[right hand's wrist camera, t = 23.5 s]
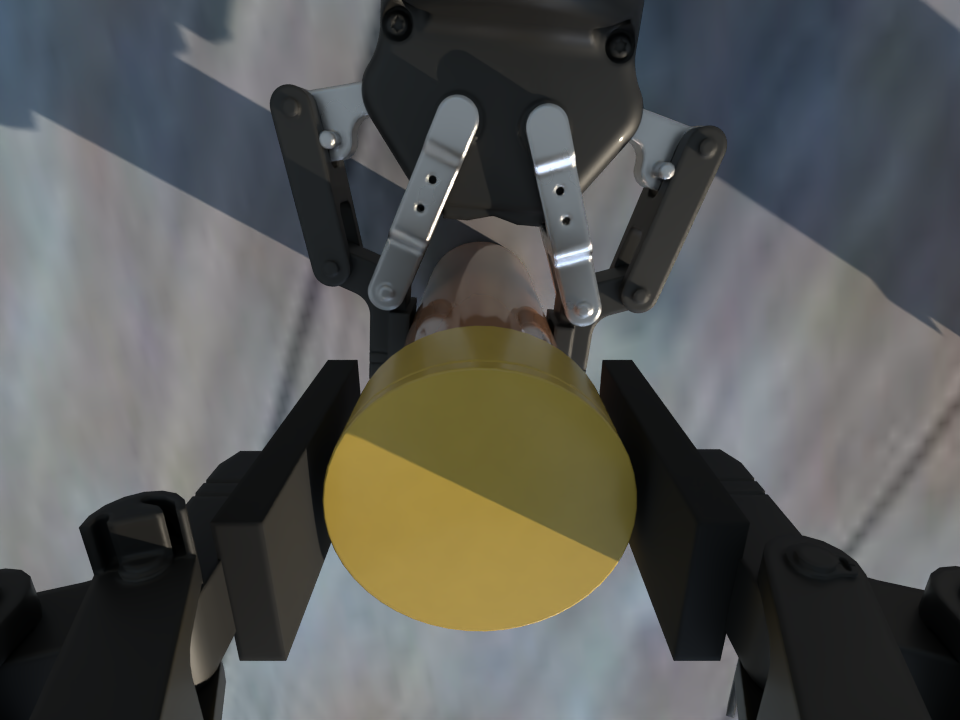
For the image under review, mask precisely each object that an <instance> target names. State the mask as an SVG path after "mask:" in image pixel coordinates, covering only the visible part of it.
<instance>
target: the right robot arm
mask: <svg viewBox="0 0 960 720" xmlns="http://www.w3.org/2000/svg"><path fill="white" fill-rule="evenodd" d="M599 396H600V398H601V400H602V402H603V404H604V406H605V408H606V410H607V412H608V414H609V416H610V418H611V420H612V422H613V424H614V426H615V428H616V430H617V433H618V435H619V437H620V439H621V441H622V443H623V445H624V447H625V449H626V451H627V453H628V455H629V458H630V461H631V464H632V467H633V470H634V474H635V480H636V486H637V511H636V518H635V524H634V528H633V531H632V534H631V537H630V540H629V544H630V547H631V549H632V552H633V555H634V557H635V560H636V563H637V565H638V568H639V570H640V573H641V576H642V578H643V581H644V584H645V586H646V589H647V592H648V594H649V597H650V599H651V602H652V605H653V607H654V610H655V613H656V615H657V618H658V620H659V623H660V626H661V628H662V631H663V634H664V636H665V639H666V641H667V644H668V647H669V649H670V652H671V655H672V657H673V660H674V661H720V660H721V655H722V650H723V646H724V641H725V637H726V634H727V636H728V638H729V640H730V642H731V643H732V645H733V647H734V649H735V651H736V653H737V655H738V657H739V658H738V663H737V667H736V671H735V676H734V680H733V684H732V688H731V693H730V697H729V701H728V707H727V713H726V716H730V717H733V718H734V715H735V711H736V707H737V710H738V719H739V720H960V567H958V566H951V567H940V568H938V569H937V570H935V571H934V572H933V573H931V574H930V577H929V580H928V582H927V585H926V588H925V590H921V589H916V588H911V587H907V586H902V585H897V584H893V583H888V582H883V581H879V580H875V579H871V578H868V577H867V576H866V574H865V573H864V571H863V570H862V568H861V567H860V566H859V564H858V563H857V562H856V561H855V560H854V559H852V558H851V557H850V556H848V555H847V554H846V553H844V552H843V551H842V550H840V549H838V548H836V547H834V546H832V545H830V544H828V543H826V542H824V541H821V540H817V539H814V538H810V537H807V536H802V535H801V534H800V532H799V531H798V530H797V529H796V528H795V526H794V525H793V524H792V523H791V522H790V520H789V519H788V518H787V517H786V516H785V515H784V513H783V512H782V511H781V510H780V509H779V507H778V506H777V505H776V504H775V503H774V501H773V500H772V499H771V498H770V497H769V495H768V494H765V491H764V489H763V488H762V487H761V486H760V485H759V483H758V482H757V481H754V478H753V476H752V475H751V474H750V473H749V472H748V470H747V469H746V468H745V467H744V466H743V464H742V463H741V462H739V461H738V460H736V459H734V458H733V457H731V456H730V455H728V454H727V453H725V452H723V451H722V450H720V449H696V447H695V446H694V445H693V443H692V442H691V441H690V439H689V438H688V436H687V435H686V434H685V432H684V431H683V430H682V428H681V427H680V425H679V424H678V423H677V421H676V420H675V419H674V417H673V416H672V414H671V413H670V412H669V410H668V409H667V408H666V406H665V405H664V403H663V402H662V401H661V399H660V398H659V397H658V395H657V394H656V392H655V391H654V390H653V388H652V387H651V386H650V384H649V383H648V381H647V380H646V379H645V377H644V376H643V375H642V373H641V372H640V370H639V369H638V368H637V366H636V365H635V364H634V362H633V361H632V360H603V361H602V372H601V384H600V395H599ZM359 397H360V383H359V372H358V360H328V361H327V362H326V364H325V365H324V366H323V368H322V369H321V370H320V372H319V373H318V375H317V376H316V377H315V379H314V380H313V381H312V383H311V384H310V386H309V387H308V388H307V390H306V391H305V392H304V394H303V395H302V397H301V398H300V399H299V401H298V402H297V403H296V405H295V406H294V408H293V409H292V410H291V412H290V413H289V414H288V416H287V417H286V419H285V420H284V421H283V423H282V424H281V425H280V427H279V428H278V430H277V431H276V432H275V434H274V435H273V437H272V438H271V439H270V441H269V442H268V443H267V445H266V446H265V448H264V449H263V450H262V451H240V452H238V453H237V454H235V455H233V456H232V457H230V458H229V459H227V460H226V461H224V462H222V463H221V464H219V465H218V467H217V468H216V469H215V470H214V471H213V473H212V474H211V475H210V476H209V477H208V479H207V480H206V483H203V485H202V486H201V487H200V488H199V489H198V491H197V492H196V495H195V496H193V497H192V498H191V499H190V500H189V501H188V503H187V504H185V500H184V499H183V498H182V497H181V496H179V495H178V494H177V493H172V492H167V491H151V492H142V493H138V494H134V495H130V496H126V497H123V498H121V499H119V500H116V501H114V502H112V503H109V504H107V505H105V506H103V507H102V508H100V509H99V510H97V511H96V512H94V513H93V514H91V515H90V516H89V517H88V518H87V519H86V520H85V521H84V522H83V523H82V525H81V526H80V527H79V529H80V533H81V536H82V539H83V542H84V545H85V548H86V551H87V554H88V557H89V560H90V564H91V567H92V570H93V573H94V577H93V579H92V580H90V581H87V582H83V583H79V584H74V585H69V586H65V587H60V588H55V589H51V590H46V591H42V592H37V593H36V590H35V588H34V585H33V582H32V580H31V577H30V576H29V575H28V574H26V573H25V572H24V571H22V570H16V569H0V720H222V711H223V703H224V694H225V685H226V679H225V672H224V667H223V663H222V658H223V656H224V654H225V652H226V650H227V648H228V646H229V644H230V642H231V640H232V638H233V636H234V637H235V641H236V646H237V650H238V655H239V660H240V661H286V660H287V657H288V655H289V652H290V649H291V647H292V644H293V641H294V639H295V636H296V634H297V631H298V628H299V626H300V623H301V620H302V618H303V615H304V613H305V610H306V607H307V605H308V602H309V599H310V597H311V594H312V592H313V589H314V586H315V584H316V581H317V578H318V576H319V573H320V570H321V568H322V565H323V563H324V560H325V557H326V555H327V552H328V549H329V547H330V544H331V540H330V538H329V535H328V532H327V528H326V524H325V520H324V513H323V502H322V498H323V483H324V478H325V474H326V470H327V465H328V463H329V460H330V458H331V455H332V453H333V450H334V448H335V446H336V444H337V442H338V440H339V438H340V436H341V434H342V432H343V430H344V428H345V426H346V423H347V421H348V419H349V417H350V415H351V413H352V411H353V409H354V407H355V405H356V403H357V401H358V399H359Z"/></svg>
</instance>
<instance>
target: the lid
mask: <svg viewBox="0 0 960 720" xmlns="http://www.w3.org/2000/svg"><path fill="white" fill-rule="evenodd" d="M322 502H323V513H324V520H325V524H326V528H327V532H328V535H329V538H330V540H331V543H332V545H333V547H334V550H335V552H336V553H337V555H338V557H339V559H340V560H341V562H342V564H343V565H344V567H345V568H346V569H347V570H348V572H349V573H350V574H351V575H352V577H353V578H354V579H355V580H356V581H357V582H358V583H359V584H360V585H361V586H362V587H363V588H364V589H365V590H366V591H367V592H369V593H370V594H371V595H372V596H374V597H375V598H376V599H378V600H379V601H380V602H382V603H383V604H385V605H387V606H388V607H390V608H392V609H394V610H395V611H397V612H399V613H401V614H404V615H406V616H408V617H410V618H412V619H415V620H418V621H421V622H424V623H427V624H430V625H434V626H439V627H443V628H448V629H456V630H464V631H495V630H505V629H511V628H516V627H522V626H526V625H529V624H533V623H536V622H540V621H542V620H545V619H547V618H549V617H552V616H554V615H557V614H559V613H561V612H562V611H564V610H566V609H568V608H570V607H572V606H573V605H575V604H576V603H578V602H579V601H581V600H582V599H584V598H585V597H586V596H588V595H589V594H590V593H591V592H592V591H593V590H595V589H596V588H597V587H598V586H599V585H600V584H601V583H602V582H603V581H604V580H605V579H606V577H607V576H608V575H609V574H610V573H611V572H612V570H613V569H614V568H615V566H616V565H617V563H618V562H619V560H620V559H621V557H622V555H623V553H624V551H625V549H626V547H627V545H628V543H629V540H630V537H631V534H632V531H633V528H634V524H635V518H636V511H637V486H636V480H635V474H634V470H633V467H632V464H631V461H630V458H629V455H628V453H627V451H626V449H625V447H624V445H623V443H622V441H621V439H620V437H619V435H618V433H617V430H616V428H615V426H614V424H613V422H612V420H611V418H610V416H609V414H608V412H607V410H606V408H605V406H604V404H603V402H602V400H601V398H600V396H599V394H598V392H597V390H596V388H595V386H594V385H593V383H592V382H591V380H590V379H589V378H588V376H587V375H586V373H585V372H584V371H583V370H582V369H581V368H580V367H579V366H578V365H577V364H576V363H575V362H574V361H573V360H572V359H571V358H570V357H568V356H567V355H566V354H565V353H563V352H562V351H561V350H559V349H558V348H556V347H554V346H553V345H551V344H549V343H548V342H546V341H544V340H541V339H539V338H537V337H534V336H532V335H530V334H527V333H523V332H520V331H516V330H513V329H508V328H501V327H495V326H467V327H457V328H452V329H448V330H444V331H439V332H436V333H433V334H431V335H428V336H425V337H423V338H420V339H418V340H416V341H415V342H413V343H411V344H409V345H407V346H405V347H404V348H402V349H401V350H400V351H398V352H397V353H395V354H394V355H392V356H391V357H390V358H389V359H388V360H387V361H386V362H385V363H384V364H383V365H382V366H380V367H379V369H378V370H377V371H376V372H375V374H374V375H373V376H372V377H371V379H370V380H369V381H368V383H367V385H366V386H365V388H364V390H363V391H362V393H361V395H360V397H359V399H358V401H357V403H356V405H355V407H354V409H353V411H352V413H351V415H350V417H349V419H348V421H347V423H346V426H345V428H344V430H343V432H342V434H341V436H340V438H339V440H338V442H337V444H336V446H335V448H334V450H333V453H332V455H331V458H330V460H329V463H328V465H327V470H326V474H325V478H324V483H323V498H322Z"/></svg>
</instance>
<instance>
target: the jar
mask: <svg viewBox="0 0 960 720" xmlns="http://www.w3.org/2000/svg"><path fill="white" fill-rule="evenodd" d="M467 326H495V327H501V328H508V329H513V330H516V331H520V332H523V333H527V334H530V335H532V336H534V337H537V338H539V339H541V340H544V341H546V342H548V343H549V344H551V345H553V346H554V347H556V348H558V347H557V345H556V342H555V340H554V337H553V334H552V332H551V329H550V327H549V324H548V322H547V319H546V317H545V314H544V312H543V309H542V307H541V304H540V301H539V299H538V296H537V294H536V291H535V289H534V286H533V284H532V281H531V279H530V276H529V274H528V271H527V269H526V267H525V266H524V264H523V263H522V262H521V260H520V259H519V258H518V257H517V256H516V255H515V254H514V253H512V252H511V251H509V250H508V249H506V248H504V247H502V246H500V245H497V244H494V243H490V242H470V243H466V244H463V245H460V246H458V247H456V248H454V249H452V250H451V251H449V252H448V253H446V254H445V255H444V256H443V257H442V258H441V259H440V261H439V262H438V263H437V265H436V266H435V268H434V269H433V272H432V274H431V276H430V279H429V281H428V284H427V286H426V289H425V292H424V294H423V297H422V299H421V302H420V304H419V307H418V309H417V312H416V314H415V317H414V319H413V322H412V324H411V327H410V329H409V332H408V335H407V337H406V340H405V342H404V345H403V347H402V348H404V347H405V346H407V345H409V344H411V343H413V342H415V341H416V340H418V339H420V338H423V337H425V336H428V335H431V334H433V333H436V332H439V331H444V330H448V329H452V328H457V327H467Z"/></svg>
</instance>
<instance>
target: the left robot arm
mask: <svg viewBox="0 0 960 720" xmlns="http://www.w3.org/2000/svg"><path fill="white" fill-rule="evenodd" d="M643 6H644V0H381V17H380V33H379V39H378V43H377V46H376V49H375V52H374V55H373V57H372V59H371V61H370V62H369V64H368V66H367V68H366V70H365V72H364V75H363V79H362V82H356V83H350V84H345V85H339V86H333V87H327V88H321V89H315V90H306V89H303V88H300V87H297V86H295V85H290V84H286V85H282V86H280V87H278V88H277V89H276V90H275V91H274V92H273V94H272V96H271V99H270V109H271V114H272V117H273V121H274V125H275V129H276V133H277V136H278V140H279V144H280V148H281V152H282V155H283V159H284V163H285V167H286V171H287V174H288V178H289V182H290V186H291V190H292V193H293V197H294V201H295V205H296V209H297V212H298V216H299V220H300V224H301V228H302V231H303V235H304V239H305V243H306V247H307V250H308V254H309V258H310V262H311V265H312V269H313V273H314V275H315V277H316V278H317V279H318V280H319V281H320V282H321V283H322V284H324V285H327V286H332V287H333V286H341V287H343V288H345V289H348V290H350V291H352V292H354V293H356V294H358V295H360V296H361V297H362V298H363V299H364V300H365V301H366V303H367V304H368V307H369V310H370V368H369V378H370V379H371V377H372V376H373V375H374V374H375V372H376V371H377V370H378V369H379V367H380V366H382V365H383V364H384V363H385V362H386V361H387V360H388V359H389V358H390V357H391V356H392V355H394V354H395V353H397V352H398V351H400V350H401V349H402V347H403V345H404V342H405V340H406V337H407V335H408V332H409V329H410V327H411V324H412V322H413V319H414V317H415V314H416V304H417V298H415V297H411V284H412V282H413V280H414V277H415V275H416V273H417V270H418V268H419V266H420V264H421V261H422V259H423V257H424V254H425V252H426V250H427V247H428V245H429V243H430V241H431V238H432V236H433V234H434V232H435V229H436V227H437V225H438V223H439V220H440V218H441V216H442V215H444V216H443V218H448V219H459V220H472V219H477V218H483V217H488V216H495V217H498V218H501V219H503V220H506V221H509V222H511V223H514V224H517V225H527V226H538V227H539V228H540V232H541V236H542V241H543V244H544V247H545V251H546V254H547V258H548V263H549V267H550V271H551V276H552V280H553V284H554V289H555V293H556V298H555V305H554V310H552V309H547V316H546V319H547V322H548V324H549V327H550V329H551V332H552V334H553V337H554V340H555V342H556V345H557V347H558V349H559V350H561V351H562V352H563V353H565V354H566V355H567V356H568V357H570V358H571V359H572V360H573V361H574V362H575V363H576V364H577V365H578V366H579V367H580V368H581V369H582V370H583V371H584V372H585V373H586V367H587V361H588V355H589V349H590V343H591V337H592V332H593V329H594V327H595V326H596V324H597V323H598V322H599V321H600V320H601V319H602V318H604V317H606V316H608V315H612V314H616V313H619V312H623V311H627V310H629V311H631V312H634V313H643V312H646V311H648V310H649V309H651V308H652V307H653V306H654V305H655V303H656V302H657V299H658V297H659V295H660V293H661V291H662V289H663V287H664V284H665V282H666V280H667V278H668V276H669V274H670V271H671V269H672V267H673V265H674V263H675V261H676V258H677V256H678V254H679V252H680V250H681V248H682V245H683V243H684V241H685V239H686V237H687V235H688V233H689V230H690V228H691V226H692V224H693V222H694V220H695V217H696V215H697V213H698V211H699V209H700V207H701V204H702V202H703V200H704V198H705V196H706V194H707V191H708V189H709V187H710V185H711V183H712V181H713V179H714V176H715V174H716V172H717V170H718V168H719V166H720V163H721V161H722V159H723V157H724V155H725V152H726V149H727V140H726V136H725V134H724V133H723V131H722V130H721V129H719V128H718V127H715V126H692V127H691V126H688V125H685V124H683V123H680V122H677V121H675V120H672V119H669V118H667V117H664V116H662V115H659V114H656V113H654V112H651V111H648V110H646V109H643V99H642V95H641V91H640V89H639V86H638V82H637V78H636V72H635V53H636V47H637V41H638V36H639V30H640V24H641V18H642V12H643ZM369 117H370V118H371V119H372V121H373V123H374V124H375V126H376V127H377V129H378V131H379V132H380V134H381V136H382V137H383V139H384V140H385V142H386V144H387V145H388V147H389V149H390V150H391V152H392V153H393V155H394V157H395V158H396V160H397V162H398V163H399V165H400V166H401V168H402V170H403V171H404V173H405V175H406V176H407V178H408V179H409V183H408V186H407V188H406V191H405V193H404V196H403V198H402V201H401V203H400V206H399V208H398V211H397V213H396V215H395V218H394V220H393V223H392V225H391V228H390V231H389V235H388V239H387V242H386V244H385V247H384V249H383V252H382V254H381V255H379V254H376V253H374V252H372V251H370V250H368V249H365V248H363V245H362V240H361V236H360V232H359V227H358V223H357V218H356V214H355V210H354V205H353V201H352V196H351V192H350V187H349V183H348V179H347V174H346V170H345V165H344V161H343V160H347V159H349V158H351V157H352V156H353V155H354V154H355V152H356V150H357V147H358V130H359V127H360V125H361V124H362V122H363V121H364V120H365V119H367V118H369ZM628 142H629V143H630V144H631V145H632V146H633V148H634V150H635V153H636V162H635V166H634V177H635V180H636V181H637V183H638V184H639V185H641V186H642V187H644V188H643V190H642V193H641V195H640V197H639V200H638V202H637V205H636V207H635V209H634V212H633V214H632V216H631V219H630V221H629V224H628V226H627V228H626V231H625V233H624V235H623V238H622V240H621V242H620V245H619V247H618V250H617V252H616V254H615V257H614V259H613V261H612V264H611V266H610V269H607V270H604V271H600V272H596V273H595V271H594V266H593V261H592V243H591V238H590V233H589V228H588V223H587V218H586V213H585V208H584V203H583V198H582V193H583V192H584V191H585V190H586V189H587V188H588V187H589V186H590V184H591V183H592V182H593V181H594V180H595V179H596V178H597V177H598V175H599V174H600V173H601V172H602V171H603V170H604V169H605V168H606V167H607V165H608V164H609V163H610V162H611V161H612V160H613V159H614V158H615V156H616V155H617V154H618V153H619V152H620V151H621V150H622V149H623V148H624V146H625V145H626V144H627V143H628Z"/></svg>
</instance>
